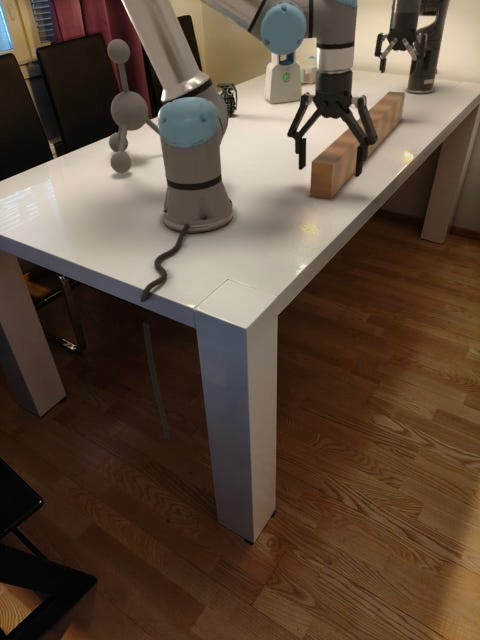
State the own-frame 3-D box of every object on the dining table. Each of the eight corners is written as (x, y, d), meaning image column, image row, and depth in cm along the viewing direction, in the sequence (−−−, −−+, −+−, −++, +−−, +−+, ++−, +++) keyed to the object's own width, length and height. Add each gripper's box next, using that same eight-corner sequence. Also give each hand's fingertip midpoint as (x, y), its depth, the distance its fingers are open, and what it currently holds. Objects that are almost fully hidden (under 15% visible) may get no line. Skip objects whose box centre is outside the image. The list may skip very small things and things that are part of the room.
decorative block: (301, 54, 217) (342, 57, 208) (301, 70, 221) (341, 73, 212) (270, 65, 201) (313, 69, 192) (270, 82, 205) (312, 86, 196)
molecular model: (195, 164, 133) (181, 39, 115) (114, 179, 127) (87, 50, 109) (172, 140, 150) (157, 28, 132) (101, 152, 145) (75, 37, 126)
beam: (330, 199, 112) (332, 164, 107) (310, 196, 114) (311, 161, 109) (401, 119, 156) (405, 92, 151) (385, 118, 158) (389, 91, 153)
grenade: (217, 117, 168) (214, 86, 162) (221, 112, 172) (219, 82, 166) (235, 117, 166) (233, 86, 160) (239, 113, 171) (238, 82, 165)
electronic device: (270, 104, 178) (269, 7, 160) (263, 99, 184) (262, 5, 165) (301, 100, 180) (304, 4, 162) (294, 95, 186) (296, 2, 168)
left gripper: (400, 67, 97) (388, 171, 110) (285, 64, 107) (286, 159, 120) (390, 76, 92) (378, 184, 105) (271, 71, 102) (273, 170, 115)
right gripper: (434, 8, 136) (424, 72, 146) (383, 8, 141) (376, 69, 151) (429, 11, 131) (418, 77, 141) (376, 11, 136) (369, 74, 146)
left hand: (329, 171), depth 112 cm, fingers open, 13 cm apart
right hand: (396, 73), depth 146 cm, fingers open, 8 cm apart
